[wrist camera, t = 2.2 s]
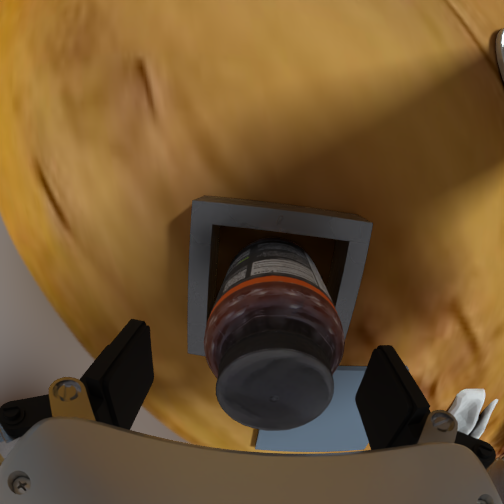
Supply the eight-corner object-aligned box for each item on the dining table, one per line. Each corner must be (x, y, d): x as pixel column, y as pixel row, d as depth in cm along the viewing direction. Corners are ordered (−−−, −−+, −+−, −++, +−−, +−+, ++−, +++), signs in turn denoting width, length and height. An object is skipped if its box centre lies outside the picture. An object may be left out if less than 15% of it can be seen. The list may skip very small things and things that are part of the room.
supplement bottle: (293, 327, 20) (307, 458, 9) (216, 298, 20) (168, 419, 9) (331, 255, 19) (396, 357, 8) (248, 220, 18) (216, 293, 7)
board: (406, 365, 21) (408, 369, 20) (363, 445, 24) (364, 449, 24) (273, 361, 21) (273, 366, 21) (255, 444, 25) (255, 449, 24)
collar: (357, 214, 18) (373, 223, 15) (328, 345, 21) (335, 369, 18) (204, 195, 18) (192, 200, 15) (197, 330, 21) (187, 353, 18)
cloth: (402, 483, 29) (410, 511, 23) (349, 456, 26) (357, 496, 20) (514, 402, 24) (531, 425, 18) (503, 342, 21) (532, 371, 15)
